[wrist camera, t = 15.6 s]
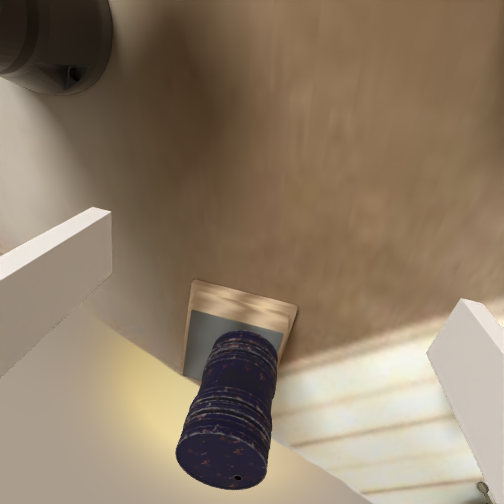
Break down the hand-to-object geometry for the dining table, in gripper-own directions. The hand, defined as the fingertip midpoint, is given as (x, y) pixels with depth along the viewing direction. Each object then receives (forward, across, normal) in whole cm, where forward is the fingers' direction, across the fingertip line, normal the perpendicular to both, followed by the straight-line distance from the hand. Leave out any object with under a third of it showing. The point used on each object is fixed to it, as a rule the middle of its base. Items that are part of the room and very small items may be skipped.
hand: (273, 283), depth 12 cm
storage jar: (+24, 0, -28) cm, 37 cm away
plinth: (+29, -2, -29) cm, 41 cm away
